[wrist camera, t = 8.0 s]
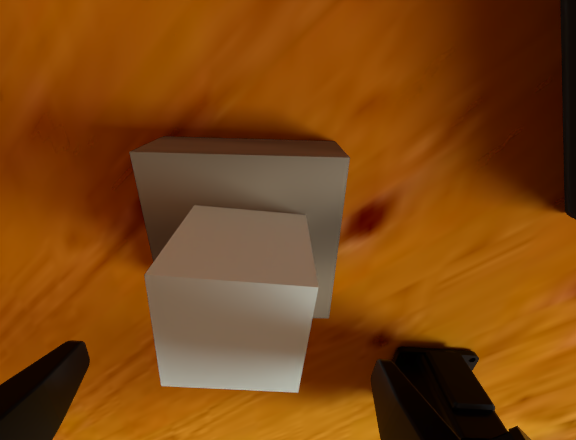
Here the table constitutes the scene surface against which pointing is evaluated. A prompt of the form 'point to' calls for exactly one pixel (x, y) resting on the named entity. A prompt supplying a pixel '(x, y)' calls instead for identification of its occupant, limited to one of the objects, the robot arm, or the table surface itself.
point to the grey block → (246, 188)
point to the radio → (569, 102)
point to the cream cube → (233, 300)
